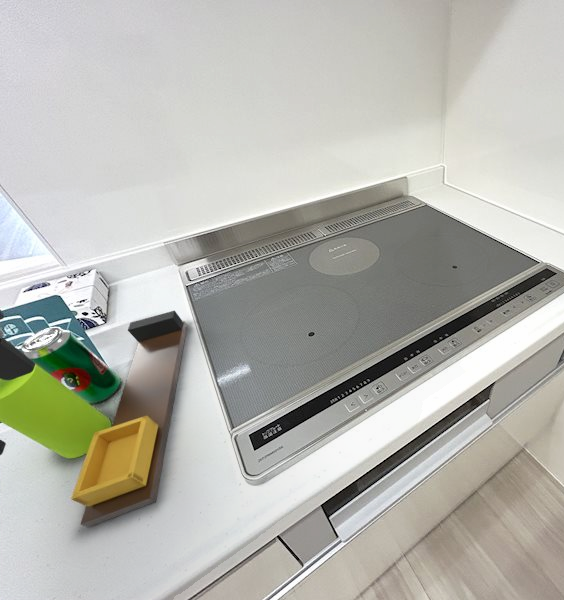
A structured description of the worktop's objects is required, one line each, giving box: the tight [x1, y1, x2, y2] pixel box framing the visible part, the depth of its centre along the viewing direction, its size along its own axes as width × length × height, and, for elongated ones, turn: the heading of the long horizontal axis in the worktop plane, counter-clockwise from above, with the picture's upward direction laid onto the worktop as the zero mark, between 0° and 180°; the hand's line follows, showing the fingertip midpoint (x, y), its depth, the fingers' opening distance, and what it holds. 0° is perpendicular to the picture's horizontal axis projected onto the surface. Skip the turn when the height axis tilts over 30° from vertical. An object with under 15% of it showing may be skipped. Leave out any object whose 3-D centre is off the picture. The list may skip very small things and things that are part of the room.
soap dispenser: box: [0, 364, 112, 459], centre depth 39 cm, size 6×7×20 cm
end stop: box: [127, 310, 184, 343], centre depth 57 cm, size 2×7×3 cm, turn 110°
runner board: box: [80, 320, 188, 528], centre depth 48 cm, size 31×7×1 cm, turn 20°
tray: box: [70, 416, 158, 507], centre depth 40 cm, size 8×6×3 cm
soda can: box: [20, 326, 121, 404], centre depth 47 cm, size 5×5×12 cm
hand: (7, 410), depth 27 cm, fingers open, 8 cm apart
